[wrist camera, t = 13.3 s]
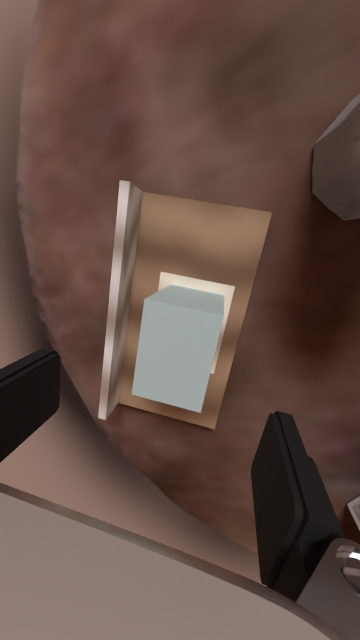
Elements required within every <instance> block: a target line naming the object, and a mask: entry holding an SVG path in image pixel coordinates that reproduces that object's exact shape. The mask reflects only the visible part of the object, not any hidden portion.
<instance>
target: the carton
mask: <svg viewBox="0 0 360 640" xmlns="http://www.w3.org/2000/svg"><path fill="white" fill-rule="evenodd" d="M223 317H224V295H221V294H216V293H211V292H207V291H202V290H197V289H192V288H187V287H182V286H177V285H172V284H171V285H169V286H168V287H166V288H164V289H162V290H160V291H158V292H156V293H154V294H153V295H151V296H149V297H147V298H145V299H144V306H143V314H142V321H141V329H140V336H139V343H138V351H137V358H136V366H135V373H134V380H133V388H132V395H136V396H140V397H143V398H147V399H151V400H154V401H158V402H162V403H165V404H169V405H173V406H177V407H180V408H184V409H188V410H191V411H195V412H199V413H201V410H202V405H203V401H204V397H205V393H206V389H207V385H208V380H209V376H210V372H211V368H212V364H213V359H214V355H215V351H216V347H217V343H218V338H219V334H220V330H221V326H222V322H223Z"/></svg>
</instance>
